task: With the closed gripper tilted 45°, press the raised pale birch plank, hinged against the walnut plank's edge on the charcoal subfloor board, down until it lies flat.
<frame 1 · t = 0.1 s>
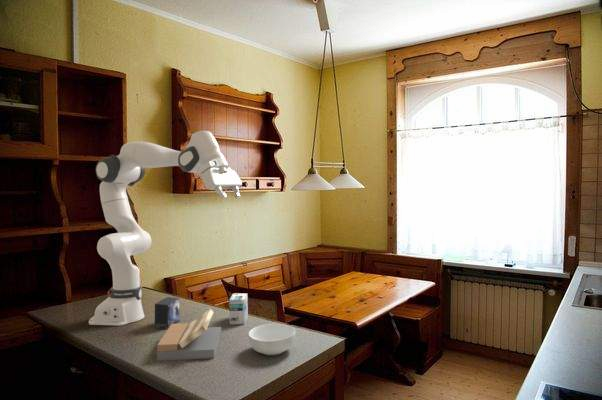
hand: (231, 198, 155), 54 cm above the counter, tool tilted 30°, fingers open, 8 cm apart
cereal bowl: (272, 351, 143), on the counter
small box: (167, 325, 171), on the counter
birch plank: (197, 326, 147), point 7 cm above the counter, hinge at 35.0°
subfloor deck: (184, 346, 147), on the counter
light bulb box: (239, 320, 176), on the counter
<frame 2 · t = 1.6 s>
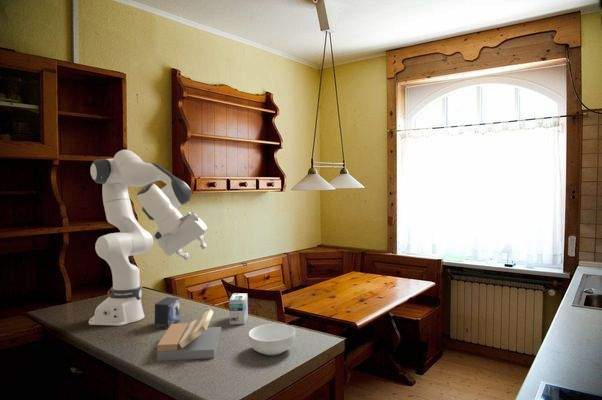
hand: (196, 253, 147), 34 cm above the counter, tool tilted 35°, fingers open, 8 cm apart
nothing on the counter moved.
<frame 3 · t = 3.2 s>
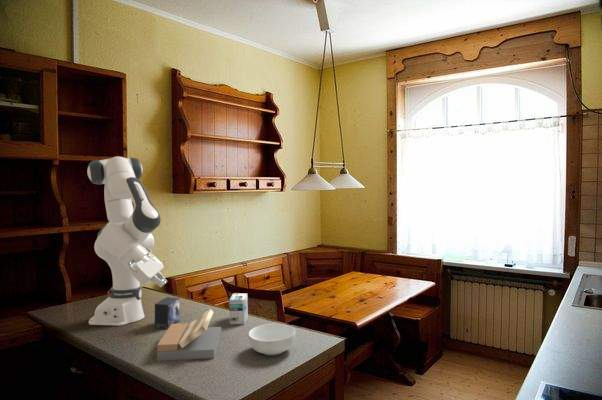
hand: (164, 284, 146), 23 cm above the counter, tool tilted 45°, fingers closed
nothing on the counter moved.
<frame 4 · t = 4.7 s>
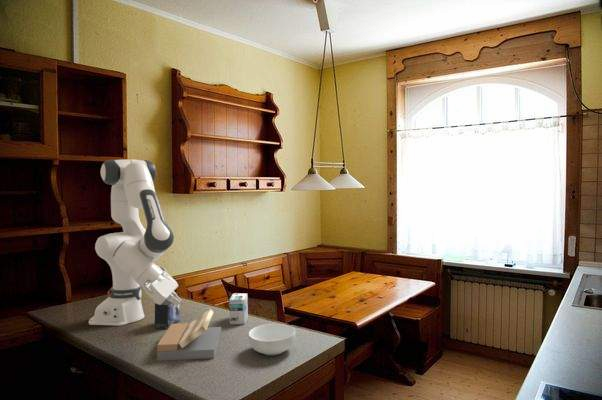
hand: (179, 303, 146), 16 cm above the counter, tool tilted 45°, fingers closed
nothing on the counter moved.
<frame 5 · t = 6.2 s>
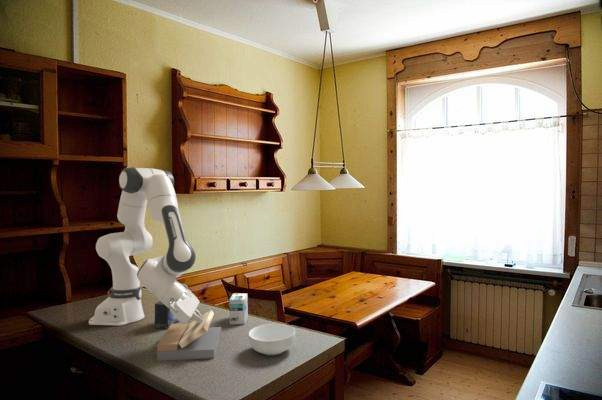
hand: (202, 321, 147), 9 cm above the counter, tool tilted 45°, fingers closed, pressing on birch plank
birch plank: (197, 327, 147), point 7 cm above the counter, hinge at 32.1°, touching gripper
everything else where it was.
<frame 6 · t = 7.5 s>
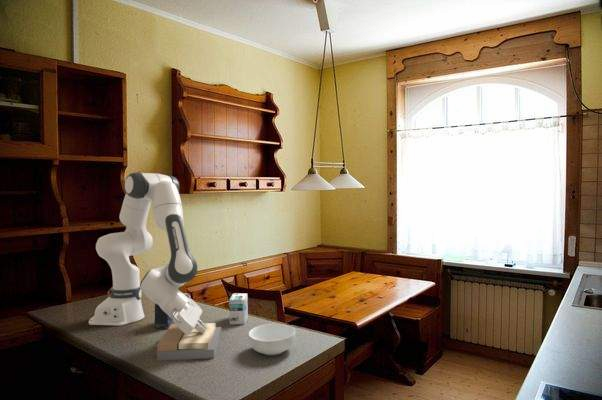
hand: (205, 330, 147), 6 cm above the counter, tool tilted 45°, fingers closed, pressing on birch plank
birch plank: (198, 335, 147), point 4 cm above the counter, hinge at -1.3°, touching gripper, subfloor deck
everything else where it was.
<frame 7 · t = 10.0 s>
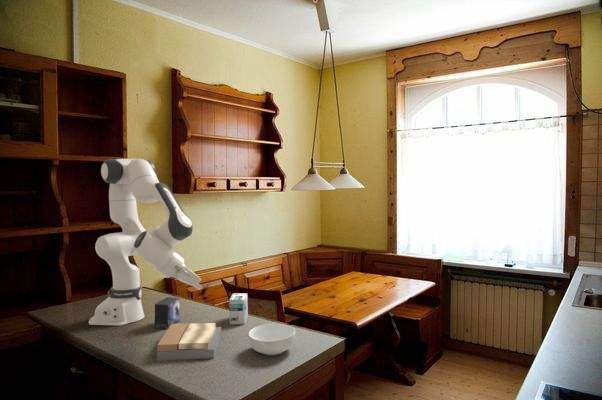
hand: (200, 288, 153), 20 cm above the counter, tool tilted 45°, fingers closed
birch plank: (198, 335, 147), point 4 cm above the counter, hinge at -1.2°, touching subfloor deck
everything else where it was.
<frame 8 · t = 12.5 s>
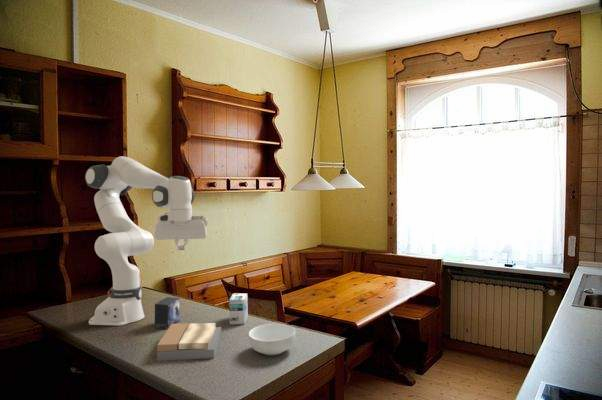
hand: (181, 250, 162), 33 cm above the counter, tool pointing down, fingers closed
nothing on the counter moved.
at the end: birch plank at -1° (first picture: +35°) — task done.
